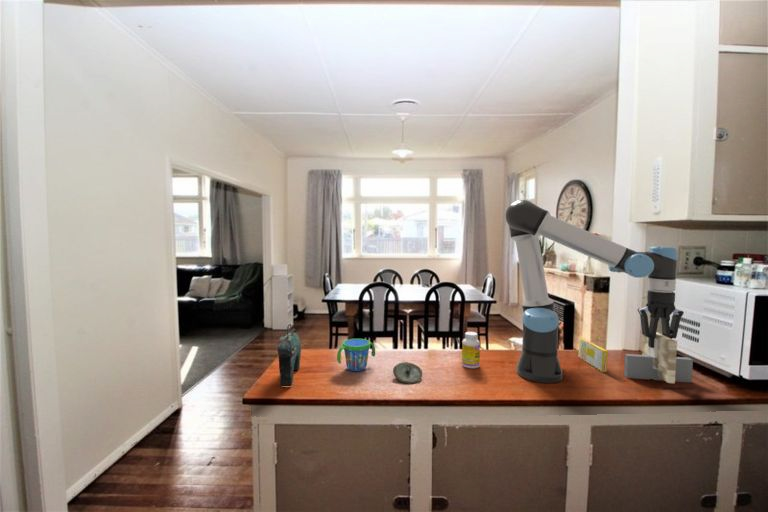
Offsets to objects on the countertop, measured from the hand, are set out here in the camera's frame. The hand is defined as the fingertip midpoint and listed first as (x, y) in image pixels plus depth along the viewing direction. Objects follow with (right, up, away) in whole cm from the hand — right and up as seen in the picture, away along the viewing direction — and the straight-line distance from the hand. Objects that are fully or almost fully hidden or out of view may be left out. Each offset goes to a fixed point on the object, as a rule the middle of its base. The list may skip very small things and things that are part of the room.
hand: (658, 356), depth 120 cm
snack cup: (-107, -8, +11) cm, 108 cm away
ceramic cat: (-130, -8, +2) cm, 131 cm away
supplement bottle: (-63, -8, +13) cm, 65 cm away
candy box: (-14, -7, +15) cm, 22 cm away
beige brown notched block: (0, -6, 0) cm, 6 cm away
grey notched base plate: (0, -8, 0) cm, 8 cm away
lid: (-88, -8, +2) cm, 88 cm away
